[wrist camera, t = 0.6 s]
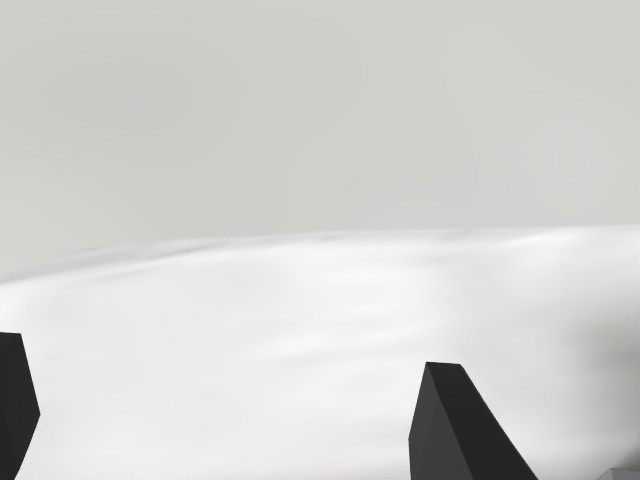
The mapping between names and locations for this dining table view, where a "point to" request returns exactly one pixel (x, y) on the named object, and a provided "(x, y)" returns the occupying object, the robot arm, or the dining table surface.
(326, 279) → the dining table surface
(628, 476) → the box
